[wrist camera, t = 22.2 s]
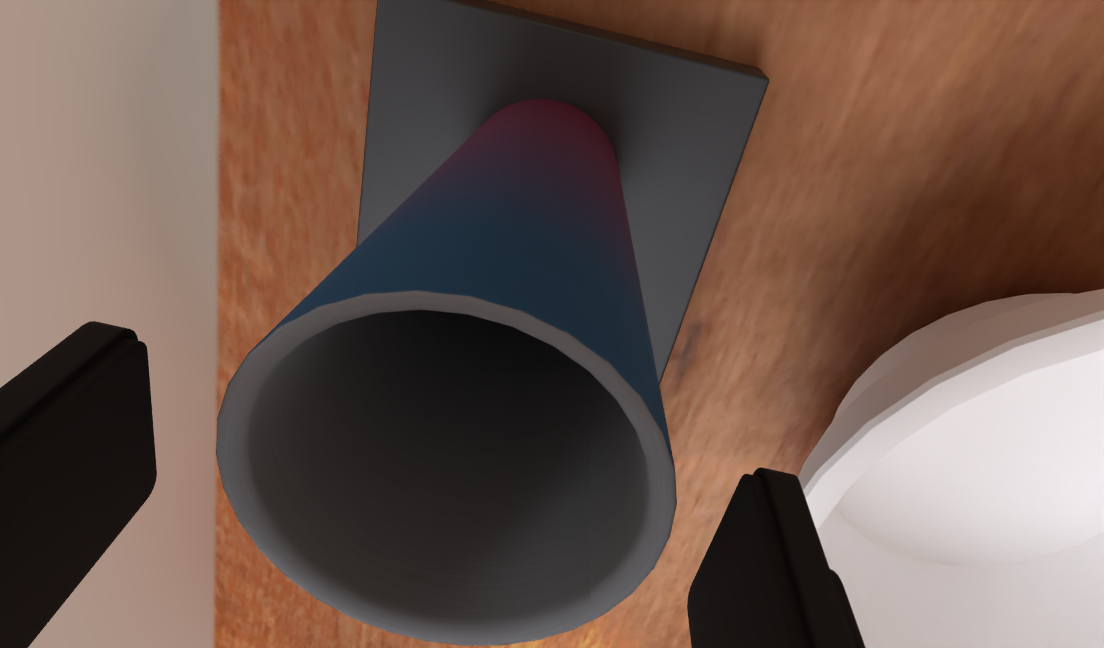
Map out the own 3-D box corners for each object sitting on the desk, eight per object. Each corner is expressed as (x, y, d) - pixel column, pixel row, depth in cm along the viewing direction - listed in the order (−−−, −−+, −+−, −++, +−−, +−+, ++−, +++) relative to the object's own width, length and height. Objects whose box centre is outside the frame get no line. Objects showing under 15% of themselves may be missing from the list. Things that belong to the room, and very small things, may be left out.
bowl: (777, 168, 24) (841, 271, 17) (1438, 199, 23) (1800, 325, 16) (699, 588, 35) (719, 760, 28) (1151, 626, 34) (1293, 817, 26)
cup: (399, 176, 24) (133, 485, 11) (536, 18, 21) (398, 179, 8) (546, 305, 26) (470, 697, 13) (690, 175, 23) (778, 510, 10)
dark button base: (393, -23, 22) (358, -13, 19) (761, 68, 23) (782, 91, 20) (351, 419, 31) (323, 473, 28) (616, 479, 32) (616, 538, 29)
